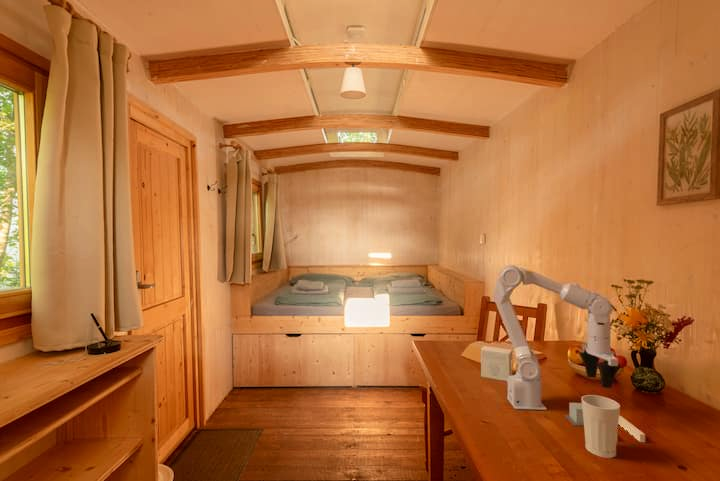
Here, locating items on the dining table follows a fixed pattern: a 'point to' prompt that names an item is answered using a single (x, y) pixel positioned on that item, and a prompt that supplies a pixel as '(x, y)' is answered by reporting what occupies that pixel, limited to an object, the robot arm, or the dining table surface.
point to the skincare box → (496, 363)
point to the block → (576, 412)
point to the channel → (631, 429)
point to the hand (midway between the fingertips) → (598, 381)
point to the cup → (600, 425)
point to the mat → (573, 421)
